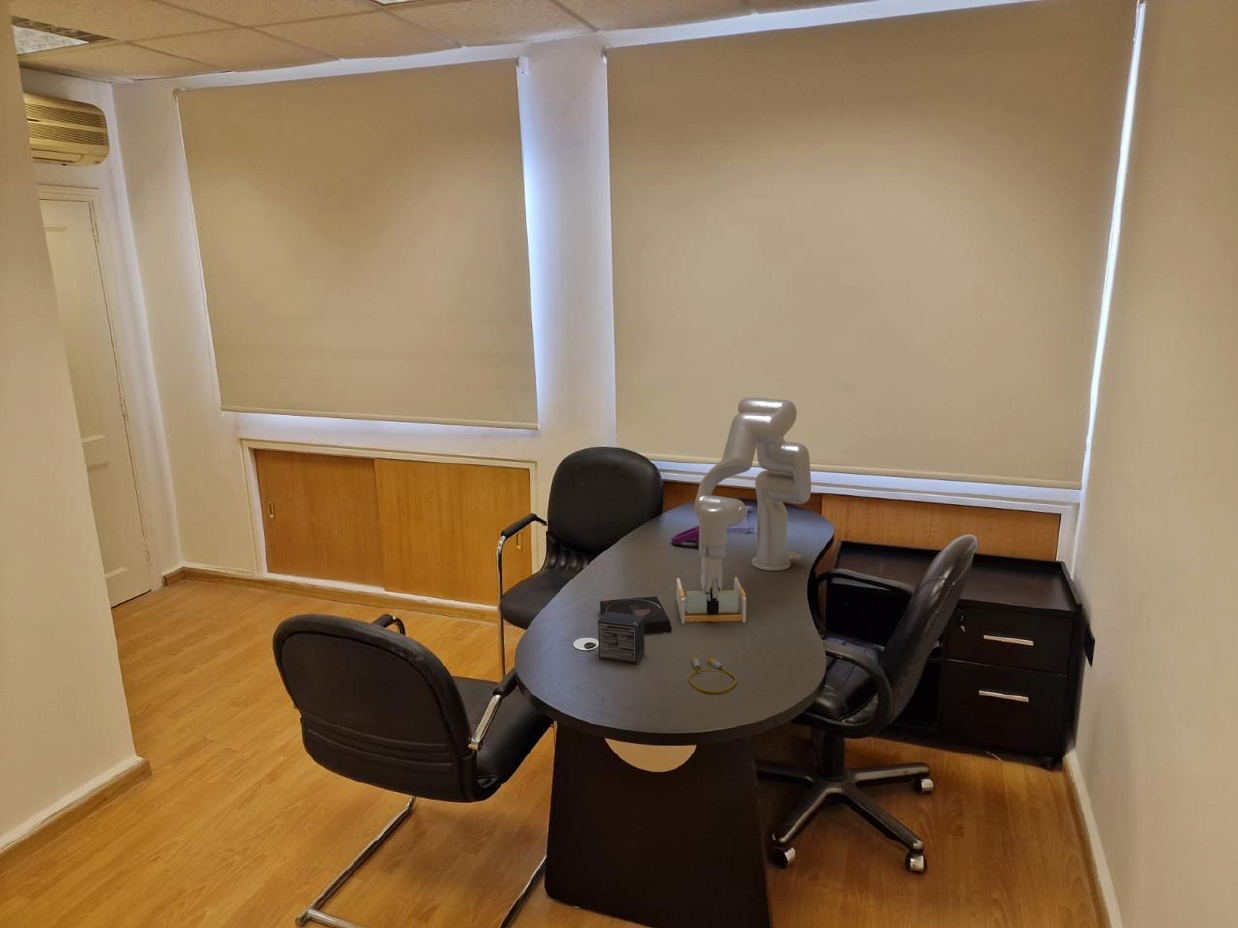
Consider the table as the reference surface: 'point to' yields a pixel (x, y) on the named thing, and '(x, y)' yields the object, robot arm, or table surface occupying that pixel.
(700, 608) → the panel
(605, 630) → the small box
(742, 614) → the rack
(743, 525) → the computer part
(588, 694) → the table surface
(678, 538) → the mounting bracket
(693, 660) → the extension cord
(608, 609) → the portable cd player
